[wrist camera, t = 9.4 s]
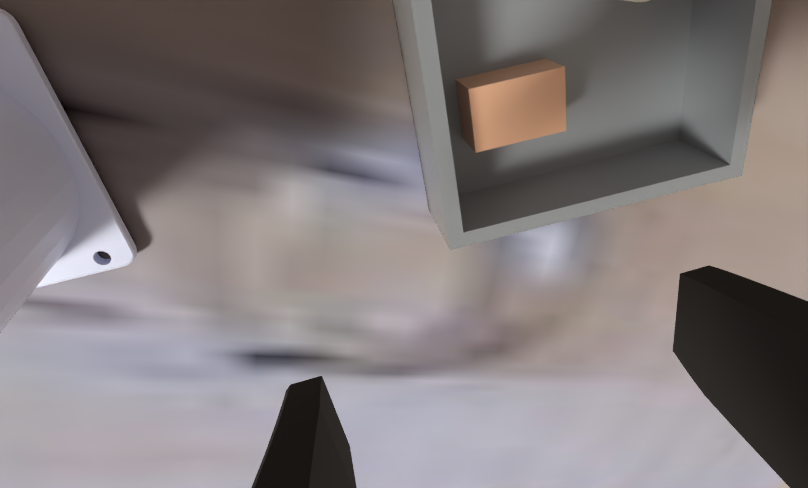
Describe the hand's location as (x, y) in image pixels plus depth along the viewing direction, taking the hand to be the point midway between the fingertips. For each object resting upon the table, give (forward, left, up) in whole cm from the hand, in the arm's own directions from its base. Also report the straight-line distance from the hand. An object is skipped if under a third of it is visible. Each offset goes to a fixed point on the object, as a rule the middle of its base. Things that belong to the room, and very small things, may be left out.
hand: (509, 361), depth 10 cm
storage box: (+5, +4, -9) cm, 11 cm away
